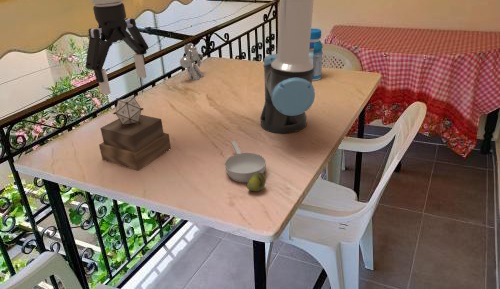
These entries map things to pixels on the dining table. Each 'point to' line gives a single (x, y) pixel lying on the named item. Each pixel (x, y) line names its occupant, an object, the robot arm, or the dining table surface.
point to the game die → (128, 111)
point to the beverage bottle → (316, 53)
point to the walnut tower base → (137, 156)
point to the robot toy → (191, 57)
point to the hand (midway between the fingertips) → (124, 84)
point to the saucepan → (244, 165)
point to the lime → (256, 182)
